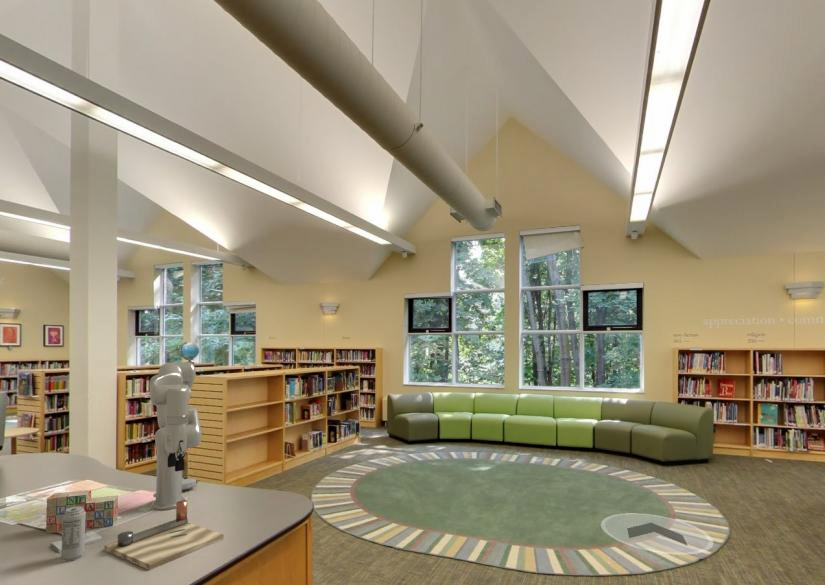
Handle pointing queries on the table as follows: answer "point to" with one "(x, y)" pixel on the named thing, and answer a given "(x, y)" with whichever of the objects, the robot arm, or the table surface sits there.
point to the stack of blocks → (96, 509)
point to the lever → (181, 519)
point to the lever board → (166, 545)
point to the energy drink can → (73, 533)
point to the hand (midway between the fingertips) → (175, 468)
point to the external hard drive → (89, 539)
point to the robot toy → (189, 483)
